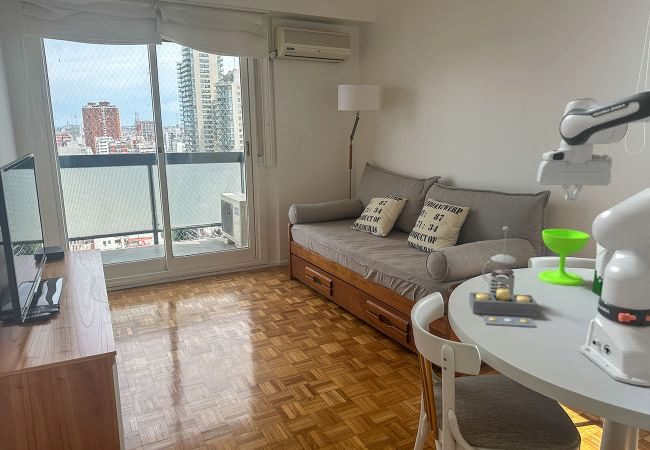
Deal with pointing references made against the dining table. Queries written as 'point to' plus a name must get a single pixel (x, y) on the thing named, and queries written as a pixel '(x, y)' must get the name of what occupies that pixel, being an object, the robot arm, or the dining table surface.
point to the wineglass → (563, 254)
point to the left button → (482, 297)
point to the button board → (505, 310)
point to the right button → (522, 299)
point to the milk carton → (601, 268)
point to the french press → (501, 272)
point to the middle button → (502, 295)
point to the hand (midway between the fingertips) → (570, 199)
